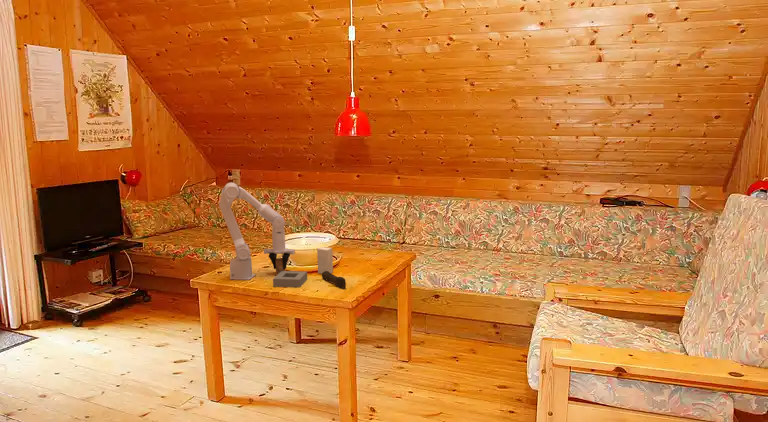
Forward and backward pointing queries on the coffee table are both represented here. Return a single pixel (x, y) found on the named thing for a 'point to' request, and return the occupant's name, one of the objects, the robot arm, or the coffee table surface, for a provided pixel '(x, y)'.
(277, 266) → the walnut peg
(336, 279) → the hand tool
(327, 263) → the skincare box
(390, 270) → the coffee table surface
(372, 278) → the coffee table surface
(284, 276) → the socket stand
